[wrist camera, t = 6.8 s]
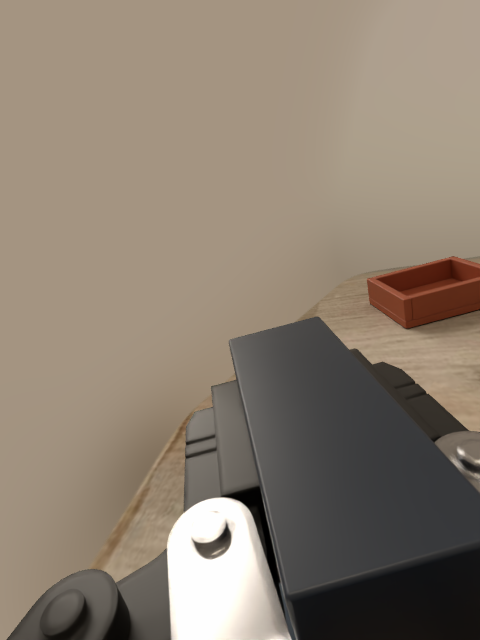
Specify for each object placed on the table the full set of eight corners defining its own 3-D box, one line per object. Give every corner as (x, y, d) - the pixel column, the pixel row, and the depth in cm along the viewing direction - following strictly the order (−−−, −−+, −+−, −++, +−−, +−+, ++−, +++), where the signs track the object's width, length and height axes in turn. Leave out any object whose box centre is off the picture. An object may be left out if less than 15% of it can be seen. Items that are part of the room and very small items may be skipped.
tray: (406, 329, 30) (403, 300, 29) (369, 303, 36) (366, 278, 35) (508, 302, 30) (508, 272, 29) (454, 280, 36) (453, 256, 35)
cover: (178, 1212, 6) (-373, 1040, 2) (186, 614, 14) (75, 358, 10) (807, 1009, 6) (1313, 540, 2) (458, 538, 14) (447, 261, 10)
